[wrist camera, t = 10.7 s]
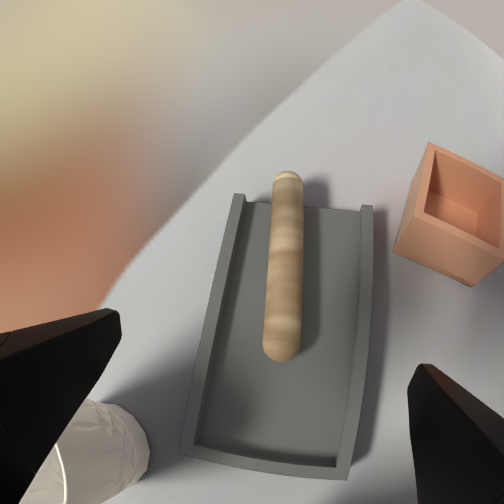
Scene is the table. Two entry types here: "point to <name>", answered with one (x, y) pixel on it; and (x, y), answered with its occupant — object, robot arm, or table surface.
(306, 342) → the slate tray
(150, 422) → the table surface
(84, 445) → the white cup
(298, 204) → the birch dowel
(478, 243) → the terracotta box
